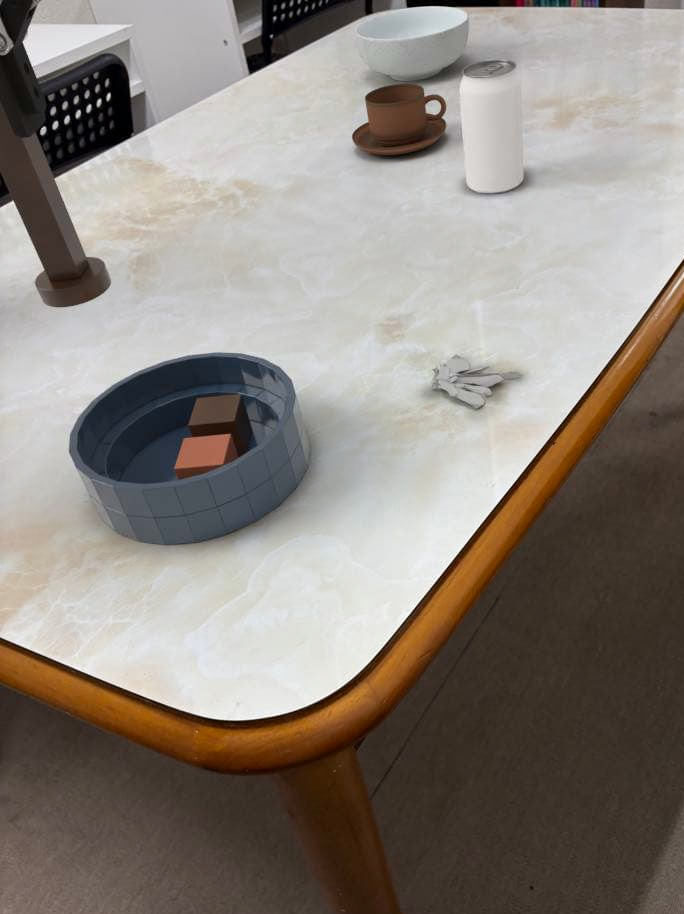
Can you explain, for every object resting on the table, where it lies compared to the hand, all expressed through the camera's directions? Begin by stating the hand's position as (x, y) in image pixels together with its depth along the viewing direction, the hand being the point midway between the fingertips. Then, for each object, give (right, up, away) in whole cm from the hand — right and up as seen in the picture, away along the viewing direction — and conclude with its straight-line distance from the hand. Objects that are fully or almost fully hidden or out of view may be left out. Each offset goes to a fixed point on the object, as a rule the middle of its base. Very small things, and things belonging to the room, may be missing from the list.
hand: (8, 130), depth 48 cm
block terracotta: (+8, -19, +15) cm, 25 cm away
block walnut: (+8, -16, +18) cm, 25 cm away
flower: (+28, -11, +21) cm, 36 cm away
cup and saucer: (+22, +27, +62) cm, 71 cm away
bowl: (+7, -18, +17) cm, 26 cm away
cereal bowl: (+24, +48, +83) cm, 99 cm away
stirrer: (+1, -7, +7) cm, 10 cm away
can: (+32, +17, +49) cm, 61 cm away
